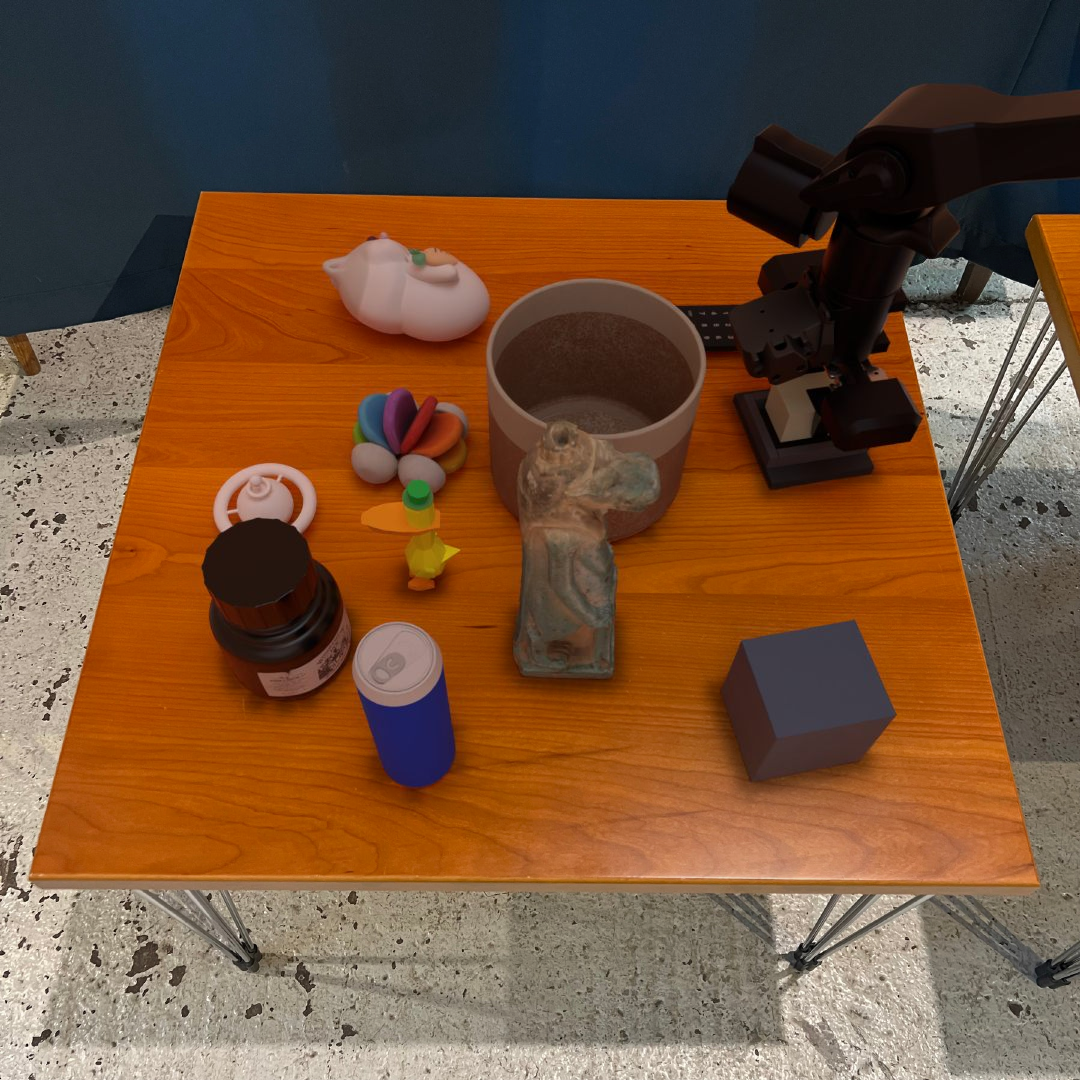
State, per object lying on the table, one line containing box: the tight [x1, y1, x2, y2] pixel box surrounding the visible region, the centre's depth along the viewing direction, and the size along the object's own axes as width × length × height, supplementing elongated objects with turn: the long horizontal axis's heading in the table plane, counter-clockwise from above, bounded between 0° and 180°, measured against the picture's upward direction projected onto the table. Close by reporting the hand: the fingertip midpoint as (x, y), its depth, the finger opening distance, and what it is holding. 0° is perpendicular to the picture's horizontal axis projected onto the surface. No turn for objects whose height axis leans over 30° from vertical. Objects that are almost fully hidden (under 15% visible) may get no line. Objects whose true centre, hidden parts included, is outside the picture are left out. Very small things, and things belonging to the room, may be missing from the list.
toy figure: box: [360, 479, 461, 592], centre depth 70 cm, size 7×4×12 cm, turn 91°
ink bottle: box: [201, 517, 353, 701], centre depth 67 cm, size 10×9×12 cm
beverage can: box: [351, 621, 456, 788], centre depth 61 cm, size 5×5×15 cm
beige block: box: [765, 371, 835, 442], centre depth 80 cm, size 6×4×4 cm, turn 102°
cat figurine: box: [321, 231, 491, 343], centre depth 87 cm, size 10×8×15 cm
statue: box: [512, 420, 661, 680], centre depth 62 cm, size 7×8×25 cm
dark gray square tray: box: [732, 387, 875, 491], centre depth 83 cm, size 9×10×2 cm
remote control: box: [675, 304, 740, 353], centre depth 89 cm, size 5×24×1 cm, turn 92°
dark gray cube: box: [720, 619, 897, 783], centre depth 66 cm, size 8×7×8 cm
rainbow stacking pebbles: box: [350, 387, 470, 494], centre depth 79 cm, size 8×10×7 cm
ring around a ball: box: [212, 462, 318, 535], centre depth 76 cm, size 8×6×8 cm
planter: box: [485, 277, 707, 543], centre depth 75 cm, size 16×16×14 cm
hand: (807, 416), depth 81 cm, fingers closed on beige block, 4 cm apart
